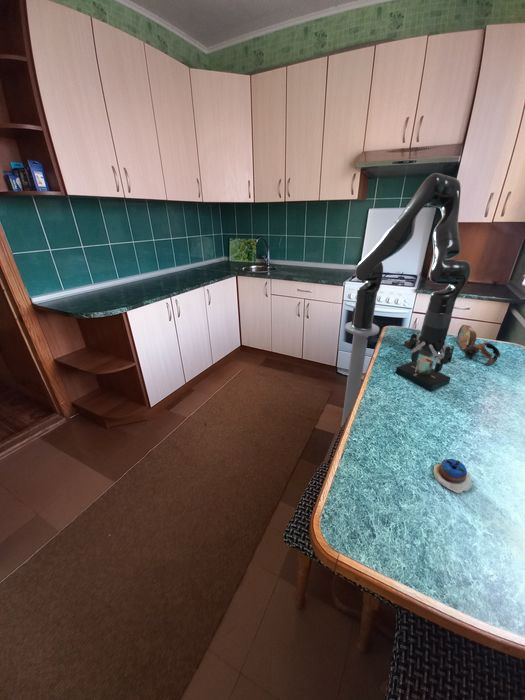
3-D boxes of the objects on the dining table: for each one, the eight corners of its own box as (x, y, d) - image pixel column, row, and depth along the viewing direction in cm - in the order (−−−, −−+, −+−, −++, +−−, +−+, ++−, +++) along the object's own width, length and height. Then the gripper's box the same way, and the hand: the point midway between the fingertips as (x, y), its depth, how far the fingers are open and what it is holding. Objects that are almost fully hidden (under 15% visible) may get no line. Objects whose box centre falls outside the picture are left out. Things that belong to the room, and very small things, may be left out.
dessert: (439, 455, 71) (460, 449, 66) (460, 479, 69) (483, 475, 64) (424, 474, 67) (446, 470, 62) (446, 501, 65) (469, 498, 60)
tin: (455, 338, 133) (460, 321, 129) (463, 339, 132) (469, 322, 128) (463, 353, 120) (470, 334, 117) (472, 354, 119) (479, 335, 116)
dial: (412, 370, 104) (415, 357, 101) (421, 367, 106) (424, 354, 103) (424, 377, 100) (428, 363, 97) (434, 373, 102) (437, 360, 100)
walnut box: (403, 345, 128) (405, 340, 126) (418, 341, 132) (420, 335, 131) (428, 356, 118) (430, 351, 117) (444, 351, 122) (445, 345, 121)
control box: (395, 372, 107) (396, 366, 106) (413, 366, 112) (415, 360, 110) (430, 391, 96) (432, 385, 95) (449, 383, 100) (451, 377, 99)
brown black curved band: (478, 353, 121) (495, 341, 114) (488, 372, 115) (507, 361, 109) (454, 348, 118) (470, 336, 112) (463, 367, 113) (480, 355, 106)
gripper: (465, 328, 90) (451, 372, 98) (423, 315, 102) (414, 355, 109) (450, 333, 87) (437, 378, 95) (409, 318, 99) (400, 360, 106)
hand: (424, 366), depth 102 cm, fingers open, 8 cm apart
